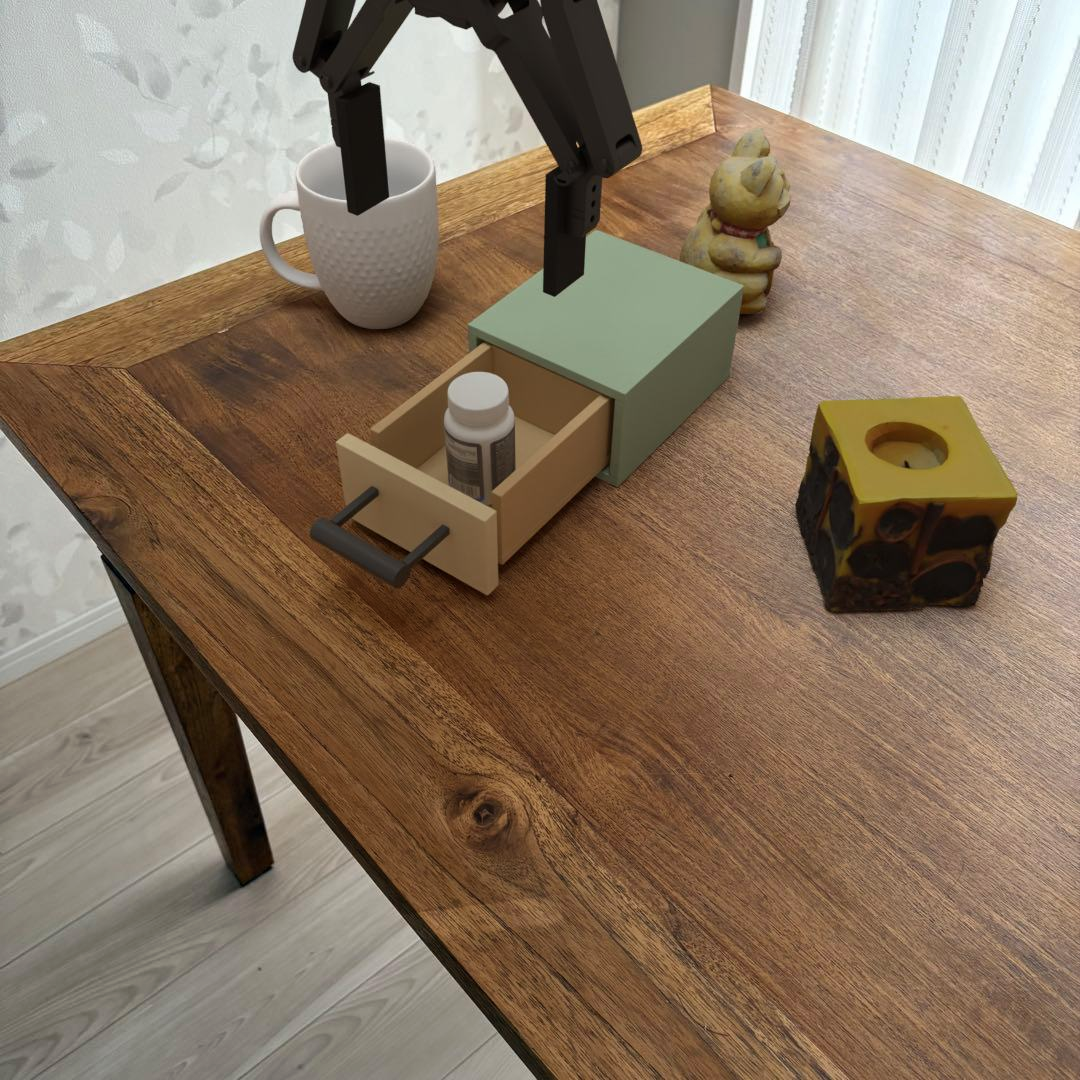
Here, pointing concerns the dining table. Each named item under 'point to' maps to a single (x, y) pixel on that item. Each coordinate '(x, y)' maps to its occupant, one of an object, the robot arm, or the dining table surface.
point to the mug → (364, 236)
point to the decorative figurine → (742, 221)
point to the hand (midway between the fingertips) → (461, 243)
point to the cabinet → (626, 339)
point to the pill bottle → (479, 435)
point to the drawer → (443, 512)
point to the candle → (901, 503)
